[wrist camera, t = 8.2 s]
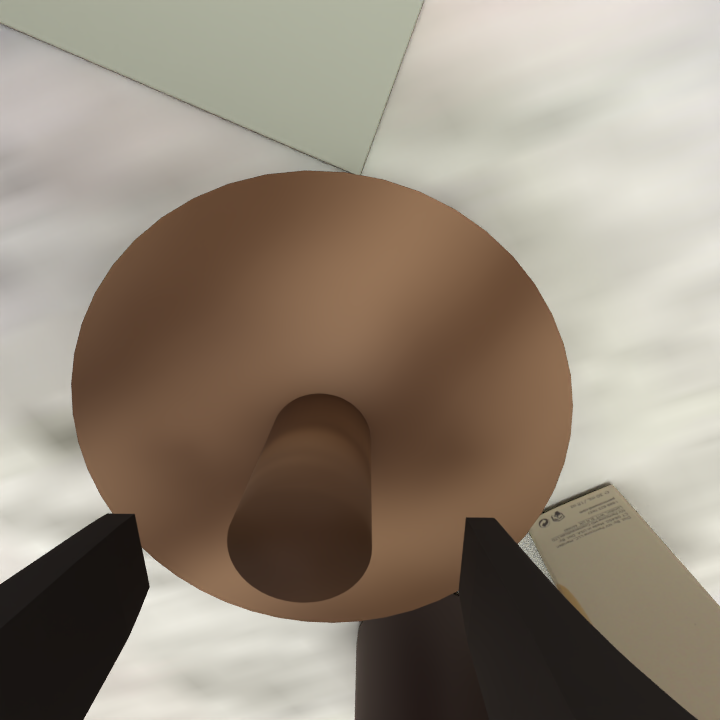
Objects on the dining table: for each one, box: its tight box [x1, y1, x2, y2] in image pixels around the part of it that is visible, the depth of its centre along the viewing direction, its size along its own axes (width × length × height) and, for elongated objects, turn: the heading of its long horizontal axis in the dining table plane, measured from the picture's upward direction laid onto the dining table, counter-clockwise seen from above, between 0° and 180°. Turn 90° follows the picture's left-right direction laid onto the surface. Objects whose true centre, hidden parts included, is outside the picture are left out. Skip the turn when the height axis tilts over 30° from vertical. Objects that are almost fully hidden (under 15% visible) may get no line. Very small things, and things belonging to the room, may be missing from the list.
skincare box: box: [528, 485, 720, 720], centre depth 15 cm, size 6×4×12 cm
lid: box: [71, 171, 573, 623], centre depth 12 cm, size 15×15×5 cm
